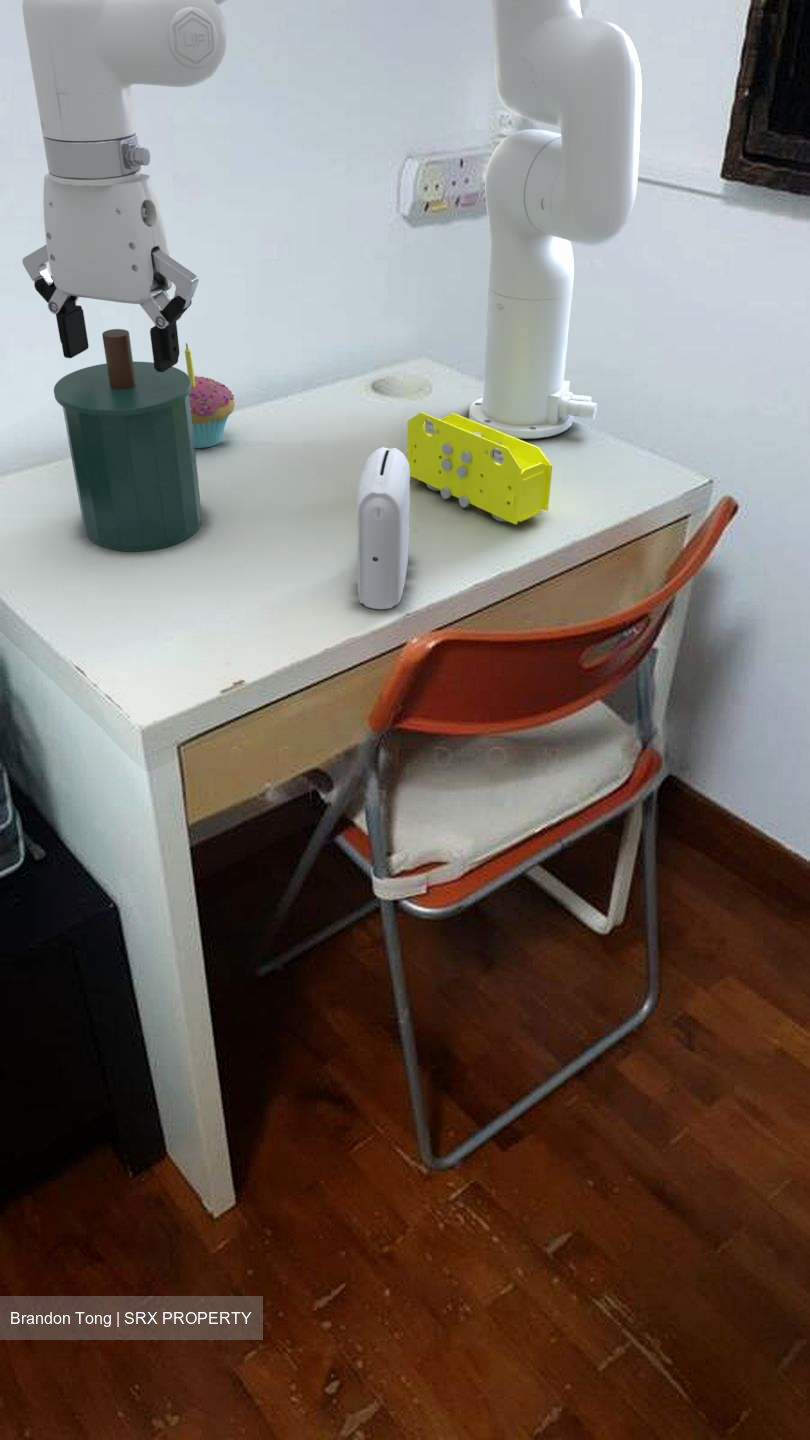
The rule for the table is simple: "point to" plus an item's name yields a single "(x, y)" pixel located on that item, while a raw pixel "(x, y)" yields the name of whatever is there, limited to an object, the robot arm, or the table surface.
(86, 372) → the tin lid
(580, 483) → the table surface
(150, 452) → the tin
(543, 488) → the yellow toy chassis
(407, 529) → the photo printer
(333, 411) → the table surface
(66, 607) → the table surface
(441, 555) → the table surface
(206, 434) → the cupcake
